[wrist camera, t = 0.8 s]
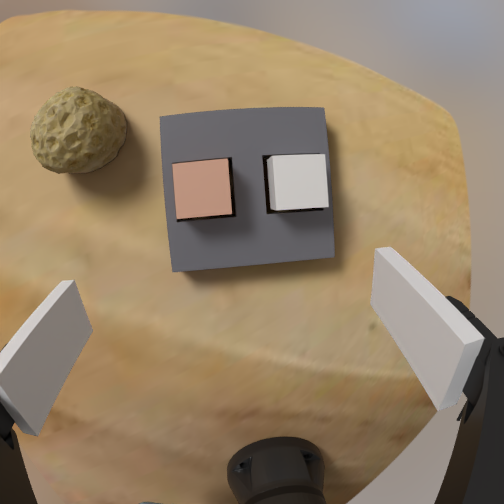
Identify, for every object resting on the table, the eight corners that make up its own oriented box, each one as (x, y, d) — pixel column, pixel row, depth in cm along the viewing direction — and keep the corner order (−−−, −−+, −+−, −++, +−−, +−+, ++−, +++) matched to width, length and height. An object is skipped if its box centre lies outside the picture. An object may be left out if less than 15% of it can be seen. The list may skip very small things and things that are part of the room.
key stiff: (230, 212, 32) (232, 213, 28) (181, 216, 31) (176, 219, 28) (227, 162, 31) (227, 158, 27) (177, 167, 31) (172, 163, 27)
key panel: (325, 252, 36) (334, 257, 33) (176, 266, 35) (172, 272, 32) (316, 114, 33) (324, 107, 30) (164, 123, 32) (159, 116, 29)
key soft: (317, 205, 32) (328, 207, 29) (270, 209, 32) (276, 210, 29) (314, 158, 32) (324, 154, 28) (267, 160, 31) (272, 155, 28)
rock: (105, 185, 36) (121, 186, 28) (23, 167, 29) (14, 161, 21) (127, 113, 35) (150, 94, 27) (48, 92, 28) (48, 64, 21)
